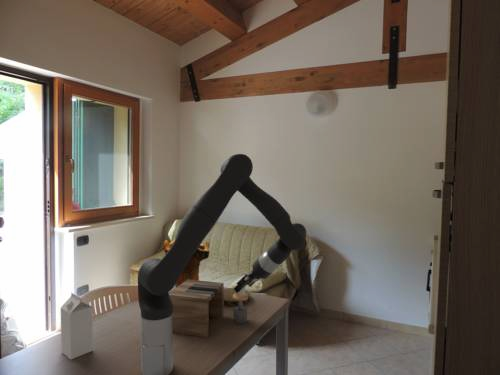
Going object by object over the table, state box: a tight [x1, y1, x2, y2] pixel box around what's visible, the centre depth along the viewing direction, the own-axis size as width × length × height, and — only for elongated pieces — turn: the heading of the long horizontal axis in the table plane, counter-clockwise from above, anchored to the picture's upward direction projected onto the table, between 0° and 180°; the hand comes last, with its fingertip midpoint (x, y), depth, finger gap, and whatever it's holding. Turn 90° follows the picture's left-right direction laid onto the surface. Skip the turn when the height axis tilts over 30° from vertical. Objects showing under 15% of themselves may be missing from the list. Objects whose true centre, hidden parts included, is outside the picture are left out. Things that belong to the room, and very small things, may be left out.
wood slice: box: [224, 287, 251, 307], centre depth 158 cm, size 16×16×3 cm
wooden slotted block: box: [168, 279, 225, 338], centre depth 133 cm, size 18×16×14 cm
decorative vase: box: [163, 238, 211, 288], centre depth 161 cm, size 21×23×28 cm
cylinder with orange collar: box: [233, 279, 248, 325], centre depth 135 cm, size 6×6×16 cm
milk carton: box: [60, 292, 94, 361], centre depth 111 cm, size 7×7×19 cm
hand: (242, 287), depth 134 cm, fingers open, 8 cm apart
